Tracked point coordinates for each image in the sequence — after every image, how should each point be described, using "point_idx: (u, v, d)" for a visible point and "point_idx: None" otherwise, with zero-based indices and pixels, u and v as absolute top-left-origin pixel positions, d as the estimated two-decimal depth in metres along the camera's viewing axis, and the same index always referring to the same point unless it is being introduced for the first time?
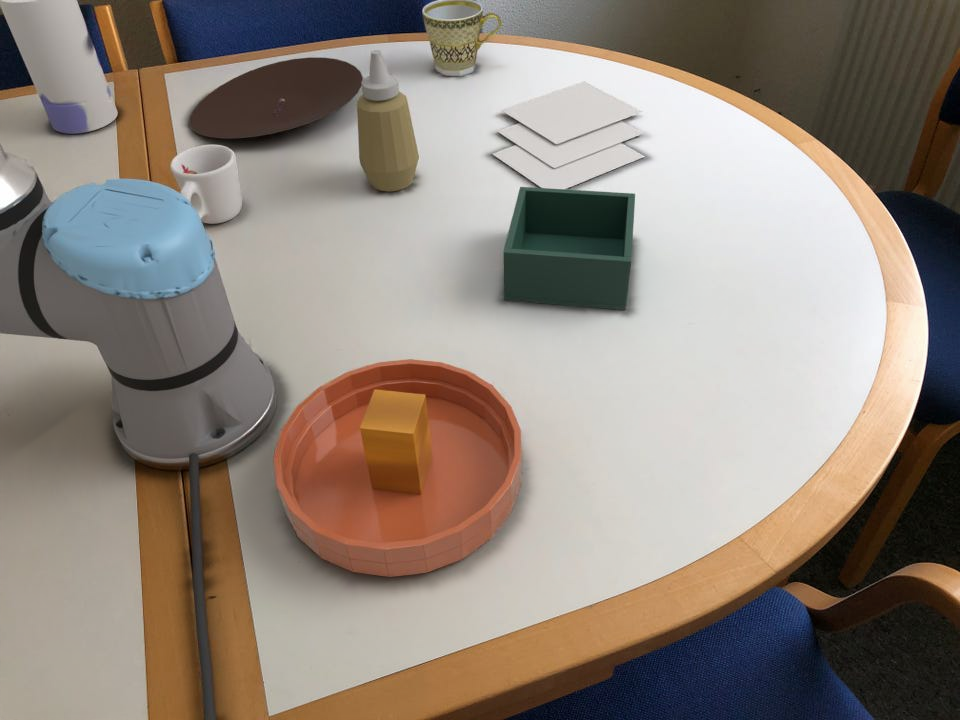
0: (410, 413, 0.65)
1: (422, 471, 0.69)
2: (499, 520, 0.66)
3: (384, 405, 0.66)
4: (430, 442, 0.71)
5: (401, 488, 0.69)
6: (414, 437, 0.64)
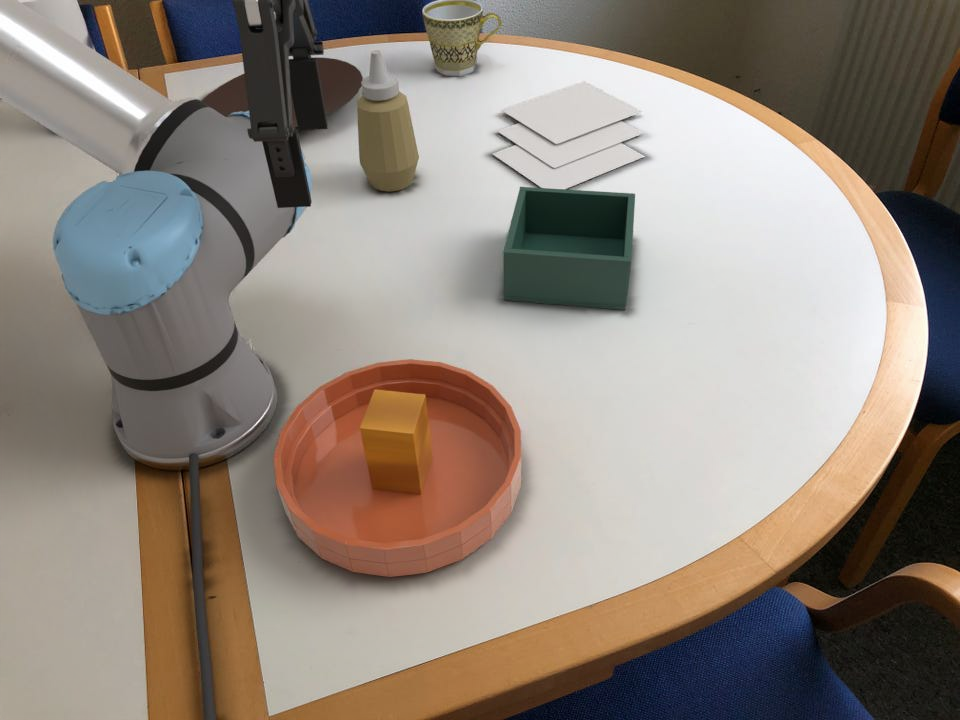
0: (410, 413, 0.65)
1: (422, 471, 0.69)
2: (499, 520, 0.66)
3: (384, 405, 0.66)
4: (430, 442, 0.71)
5: (401, 488, 0.69)
6: (414, 437, 0.64)
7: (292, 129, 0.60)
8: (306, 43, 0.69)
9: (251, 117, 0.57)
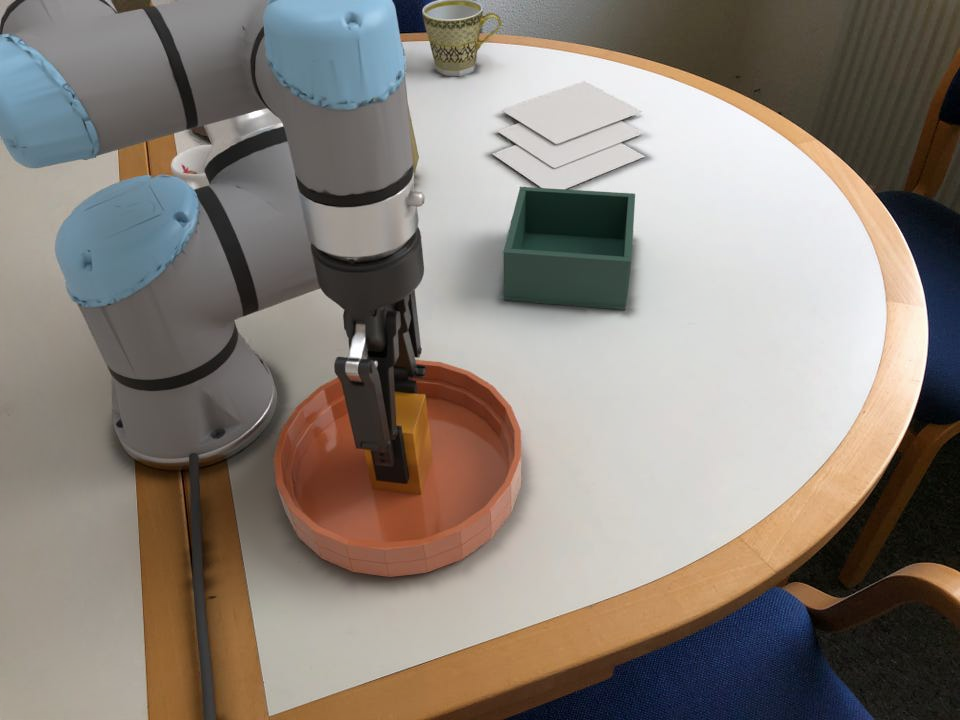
0: (410, 413, 0.65)
1: (422, 471, 0.69)
2: (499, 520, 0.66)
3: None
4: (430, 442, 0.71)
5: (401, 488, 0.69)
6: (414, 437, 0.64)
7: (395, 434, 0.62)
8: (407, 363, 0.65)
9: (355, 437, 0.59)
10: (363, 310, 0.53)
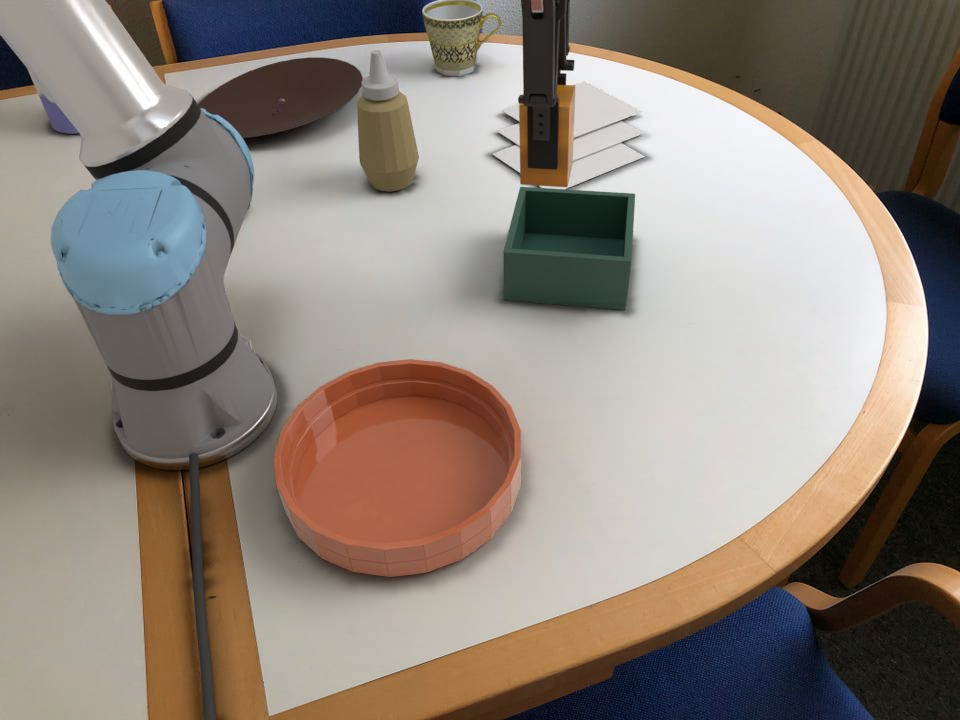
0: (564, 96, 0.71)
1: (569, 163, 0.74)
2: (499, 520, 0.66)
3: None
4: None
5: (549, 180, 0.74)
6: (569, 113, 0.70)
7: (556, 99, 0.67)
8: (561, 49, 0.71)
9: (524, 89, 0.65)
10: None
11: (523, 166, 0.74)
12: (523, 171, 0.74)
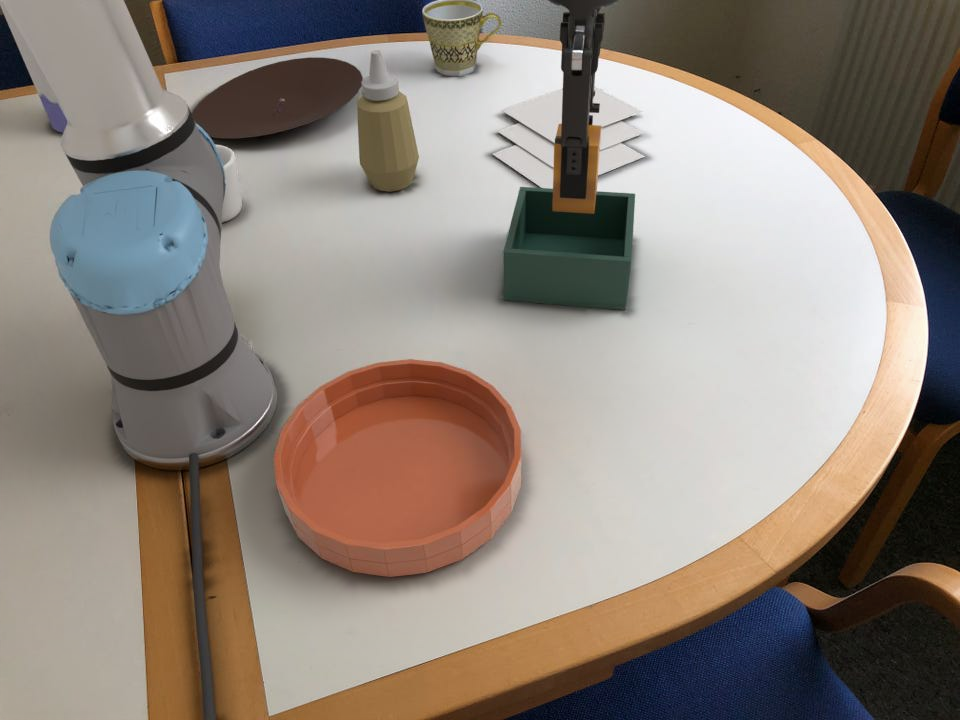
0: (592, 135, 0.81)
1: None
2: (499, 520, 0.66)
3: None
4: None
5: (578, 208, 0.85)
6: (598, 151, 0.80)
7: (588, 140, 0.78)
8: None
9: (562, 133, 0.76)
10: (586, 9, 0.70)
11: (555, 195, 0.85)
12: (555, 200, 0.85)
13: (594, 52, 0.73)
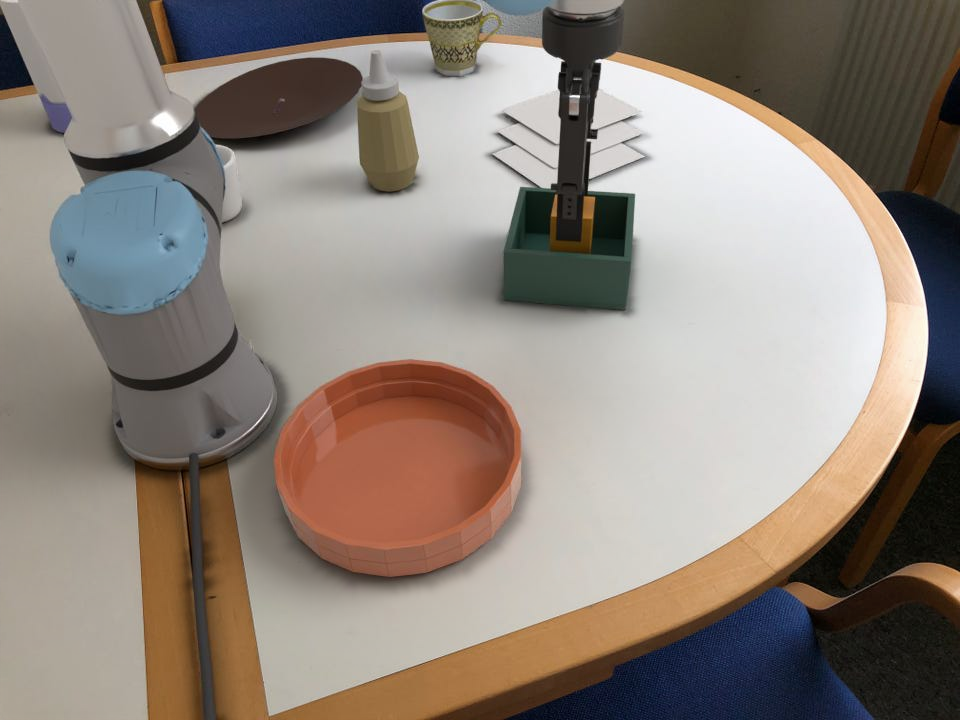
0: (586, 207, 0.87)
1: None
2: (499, 520, 0.66)
3: None
4: (591, 242, 0.93)
5: None
6: (591, 223, 0.86)
7: (583, 186, 0.79)
8: (587, 126, 0.85)
9: (558, 178, 0.77)
10: (583, 62, 0.73)
11: None
12: None
13: None
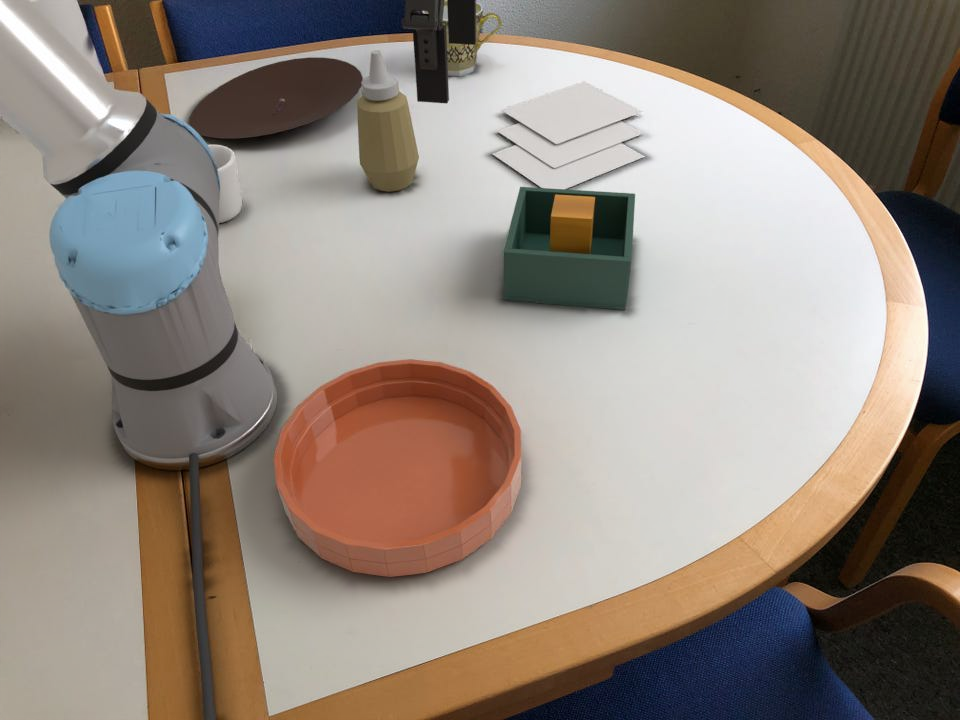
0: (586, 207, 0.87)
1: None
2: (499, 520, 0.66)
3: (565, 203, 0.88)
4: (591, 242, 0.93)
5: None
6: (591, 223, 0.86)
7: (441, 23, 0.65)
8: None
9: (406, 4, 0.62)
10: None
11: None
12: None
13: None
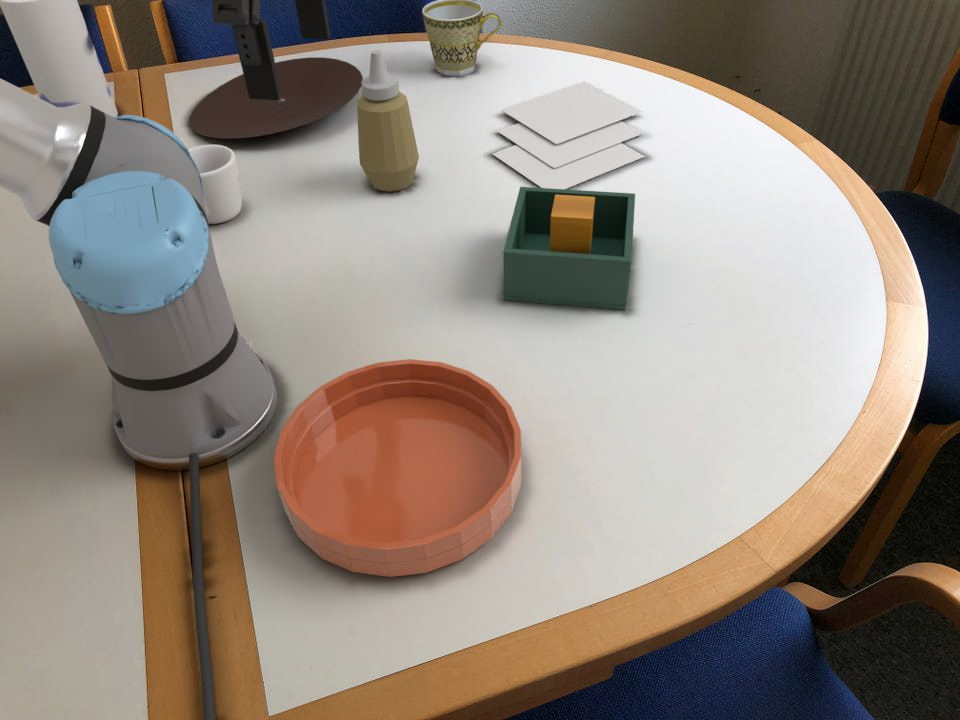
0: (586, 207, 0.87)
1: None
2: (499, 520, 0.66)
3: (565, 203, 0.88)
4: (591, 242, 0.93)
5: None
6: (591, 223, 0.86)
7: (256, 17, 0.63)
8: None
9: None
10: None
11: None
12: None
13: None
